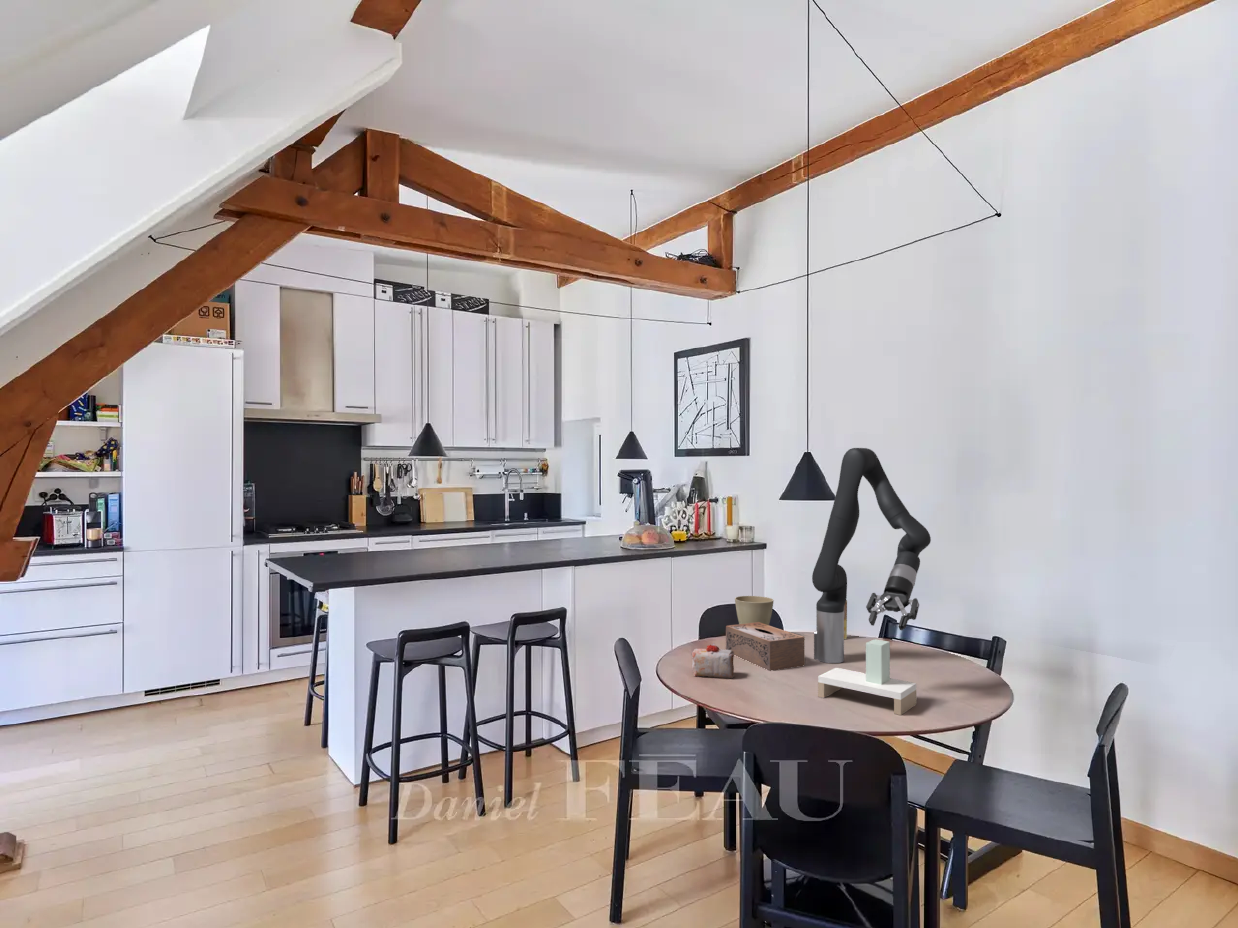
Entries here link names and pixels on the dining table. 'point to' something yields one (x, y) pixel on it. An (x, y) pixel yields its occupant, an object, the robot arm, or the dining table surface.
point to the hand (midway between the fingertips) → (885, 626)
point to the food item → (713, 662)
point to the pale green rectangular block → (877, 661)
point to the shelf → (868, 687)
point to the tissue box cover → (765, 645)
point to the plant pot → (754, 609)
